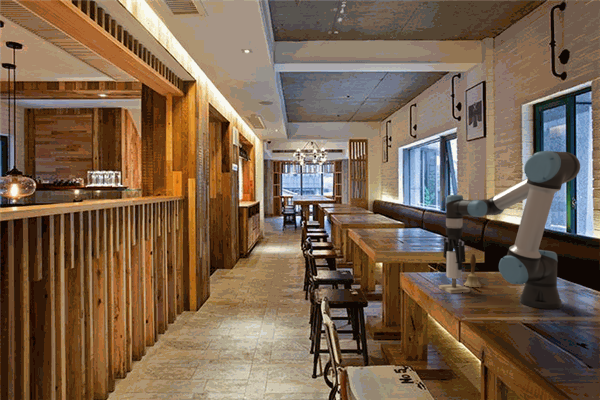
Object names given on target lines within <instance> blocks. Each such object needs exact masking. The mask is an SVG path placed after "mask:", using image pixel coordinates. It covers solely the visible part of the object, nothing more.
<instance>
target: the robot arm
mask: <svg viewBox="0 0 600 400" xmlns="http://www.w3.org/2000/svg"><path fill="white" fill-rule="evenodd" d="M523 168H524V169H523V171H524V174H525V176H526V178H525V179H523V180H521V181H519V182H517V183H516V184H514V185H512V186H510V187H507V189H504V190H503V191H500V192H498V193H497V194H495V195H494V196H492V197H490V198H487V199H485V198H484V199H464V197H463V195H462V194H449V195H447V196H446V199H445V200H446V201H445V210H446V211H445V212H446V213H445V217H446V218H445V226H446V228H445V235H446V236H447V237H443V255H442V257H443V258H445V260H446V261H445V263H446V265H445V266H446V272H445V274H447V251H455V253H456V260H457V262H456V277H460V276H461V277H463V275H462V272H463V271H462V270H463V263H466V250H465V249H466V247H465V246H466V241H465V240H464V241H463V240H462V237H461V236H463V231H464V229H463V224H464V222H463V219H464V216H466V217H474V218H478V217H479V218H482V217H484V216H497V215H501V214H502V213H503V212H504V211H505V210H506V209H508V208H510V207H512V206H514V205H516V204H519V203H521V202H523V201H524V200H525V203H524V208H523V211H522V215H521V219H520V223H519V226H518V231H517V234H516V238H515V241H514V244H513V245H511V246H509V248H508V251H507V254H506V255H504V256H503V257H502V258H500V260H499V263H498V271H499V274H501V277H502V278H503V279H504V280H505V281H506V282H508V284H512V285H524V287H523V289H522V294H520V299H519V301H520V303H521V304H523V305H524V306H527V307H531V308H537V309H545V310H546V309H547V310H555V309H560V308H562V305H563V304H562V303H563V301H562V299H561V297H560V294H559V290H558V262H559V260H558V254H557V253H556V252H555V251H551V250H546V249H545V250H543V249H540V245H541V241H542V238H543V235H544V231H545V227H546V224H547V222H548V217H549V214H550V211H551V207H552V203H553V201H554V196H555V193H557V192H559V191H561V189H562V185H564V184H565V183H568V182H570V181H572V180H574V179H575V178H576V177H577V176H578V175H579V173H580V170H581V162H580V160H579V157H577V156H576V155H574V153H570V152H568V151H554V150H553V151H552V150H544V151H543V150H541V151H538V152H534V153H533V154H531V155H530V156H529V157H528V158H527V160H526V161H525V163H524V167H523Z"/></svg>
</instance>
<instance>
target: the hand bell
mask: <svg viewBox="0 0 600 400" xmlns="http://www.w3.org/2000/svg"><path fill="white" fill-rule="evenodd" d="M469 261H470V273H469V274H468V275H467V277H466V278H467V279H466V280H465V282H464V283H463V286H464V285H465V286H464V287H466V286H469V287H468V288H472V287H479V288H481V287H482V284H481V283H480V281H479V280H478V279H479V278H478V276H479V275H477V274H476V272H475V269H476V268H475V267H476V264H477V263H476V262H477V259H476V255H475V254H474V253H471V256H470V259H469Z"/></svg>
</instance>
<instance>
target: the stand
mask: <svg viewBox="0 0 600 400" xmlns="http://www.w3.org/2000/svg"><path fill="white" fill-rule="evenodd" d="M438 289H440V290H442V291H444V292H446V293H449V294H460V293H462V292H463V293H470V291H471V289H470V287H466V286H464V285H461V284H458V283H457V279H455V278H451V284H438Z"/></svg>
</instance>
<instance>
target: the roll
mask: <svg viewBox="0 0 600 400" xmlns="http://www.w3.org/2000/svg"><path fill="white" fill-rule="evenodd" d="M456 262H457V260H456V253H455V250H453V251H447V273H445V274H446V277H447V278H449V279H452V278H455V279H456V280H457V279H461V278H462V276H460V277H456Z"/></svg>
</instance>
